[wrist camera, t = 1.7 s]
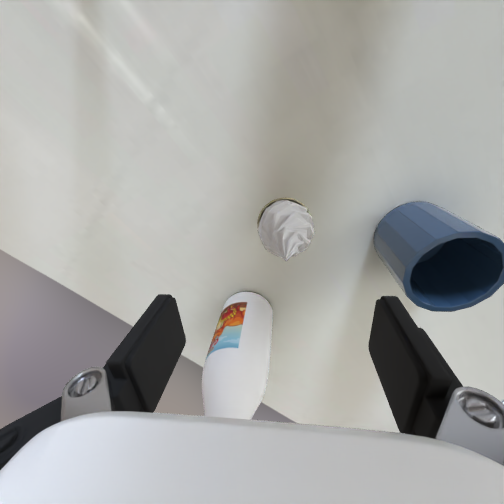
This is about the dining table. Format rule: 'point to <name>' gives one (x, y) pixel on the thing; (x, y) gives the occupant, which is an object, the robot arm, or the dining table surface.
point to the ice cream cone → (285, 227)
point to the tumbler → (439, 257)
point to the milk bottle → (238, 358)
